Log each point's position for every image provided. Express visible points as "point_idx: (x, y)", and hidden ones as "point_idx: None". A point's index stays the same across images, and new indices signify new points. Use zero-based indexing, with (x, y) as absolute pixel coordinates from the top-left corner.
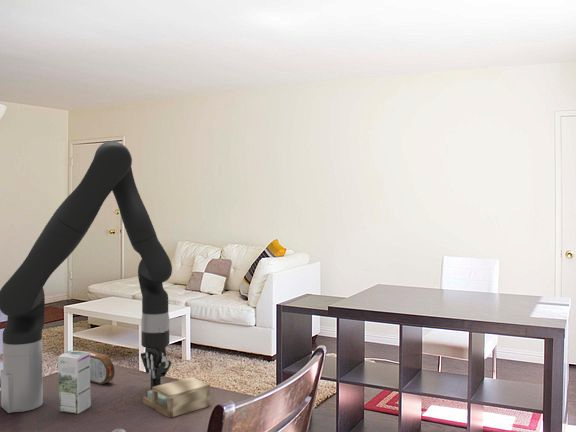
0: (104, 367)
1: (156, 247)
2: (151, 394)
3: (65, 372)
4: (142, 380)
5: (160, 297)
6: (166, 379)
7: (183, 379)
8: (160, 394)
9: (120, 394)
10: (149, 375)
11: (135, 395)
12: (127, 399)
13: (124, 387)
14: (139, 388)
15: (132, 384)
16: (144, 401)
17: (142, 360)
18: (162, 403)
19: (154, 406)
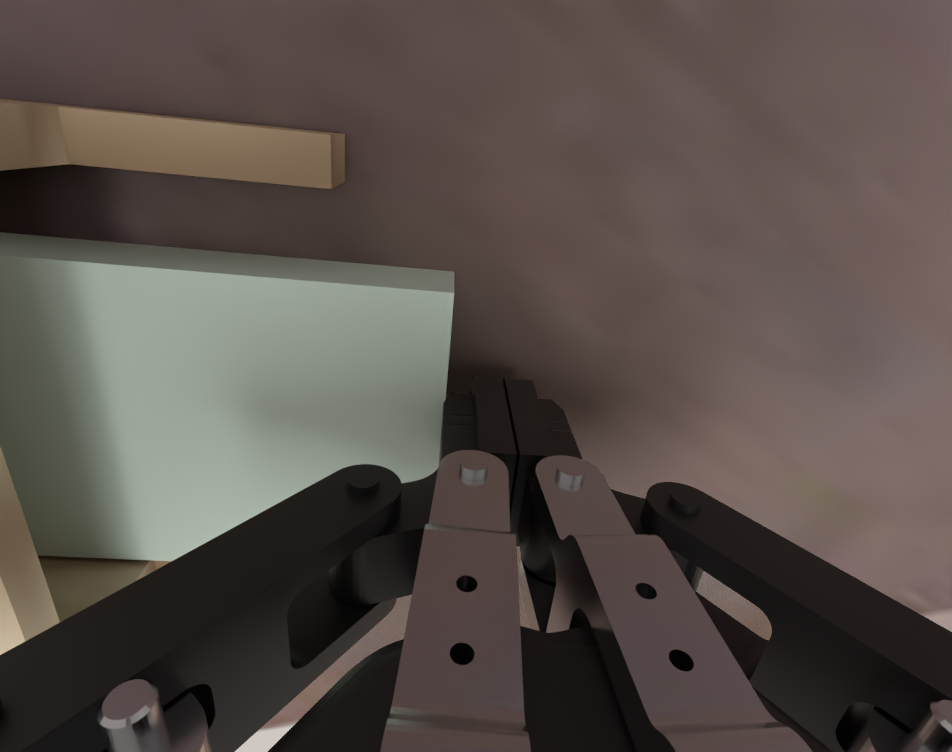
0: None
1: None
2: (354, 280)
3: None
4: (881, 499)
5: None
6: None
7: (10, 640)
8: (239, 334)
9: (797, 115)
10: (576, 462)
11: (622, 224)
12: (591, 72)
13: (915, 283)
14: (749, 371)
15: (896, 387)
16: (293, 129)
17: (948, 637)
18: (105, 249)
19: (22, 101)
